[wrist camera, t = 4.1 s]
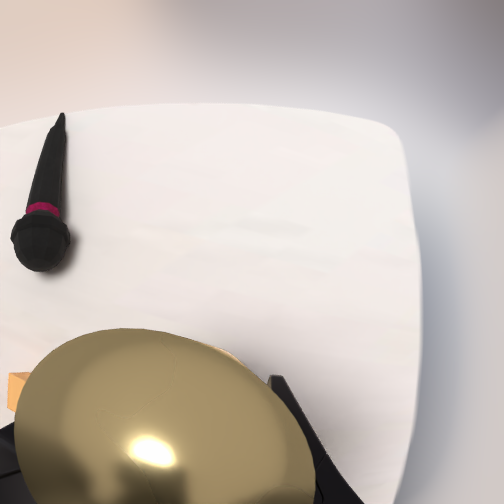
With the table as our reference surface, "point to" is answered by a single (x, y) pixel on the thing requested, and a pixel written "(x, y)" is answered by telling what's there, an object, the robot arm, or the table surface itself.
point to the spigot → (156, 426)
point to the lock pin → (15, 388)
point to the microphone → (44, 209)
